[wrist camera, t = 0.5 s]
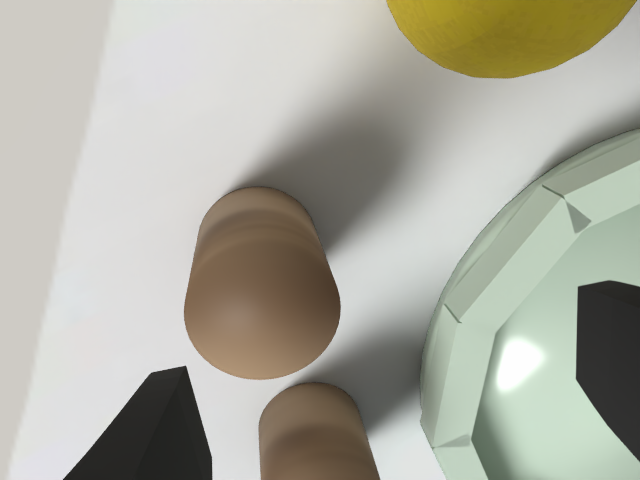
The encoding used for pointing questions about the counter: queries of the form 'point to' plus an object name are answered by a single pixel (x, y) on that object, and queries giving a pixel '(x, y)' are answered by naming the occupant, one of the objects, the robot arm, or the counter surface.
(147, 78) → the counter surface
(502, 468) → the tray
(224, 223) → the bead
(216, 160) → the counter surface
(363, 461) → the bead
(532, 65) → the lemon
